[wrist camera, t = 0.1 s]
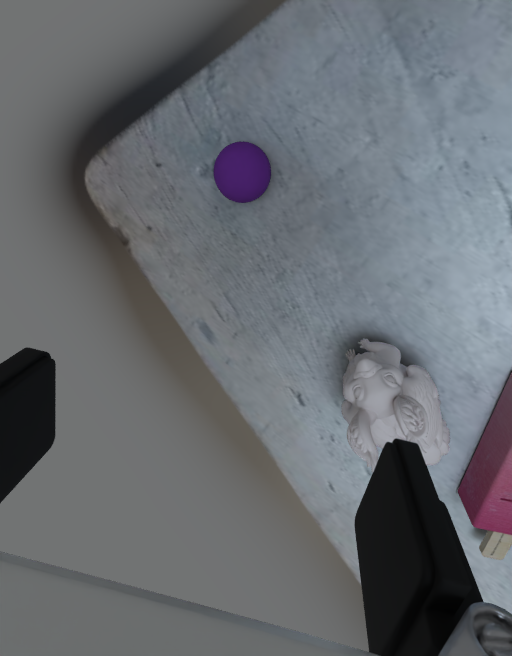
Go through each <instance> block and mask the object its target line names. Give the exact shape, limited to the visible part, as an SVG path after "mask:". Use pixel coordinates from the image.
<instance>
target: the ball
mask: <svg viewBox="0 0 512 656" xmlns="http://www.w3.org/2000/svg"><path fill="white" fill-rule="evenodd" d="M270 178H271V167H270V163H269V160H268V158H267V156H266V155H265V153H264V152H263V151H262V150H261V149H260V148H259V147H258V146H256V145H254V144H252V143H249V142H235V143H232V144H230V145H228V146H226V147H225V148H224V149H223V150H222V151H221V152H220V153H219V155H218V157H217V159H216V161H215V165H214V179H215V182H216V185H217V187H218V189H219V190H220V192H221V193H222V194H223V195H224V196H225V197H227V198H228V199H230V200H232V201H235V202H239V203H246V202H251V201H253V200H255V199H257V198H259V197H260V196H261V195H262V194H263V193H264V192H265V190H266V189H267V187H268V185H269V182H270Z"/></svg>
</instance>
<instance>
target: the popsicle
mask: <svg viewBox="0 0 512 656" xmlns="http://www.w3.org/2000/svg"><path fill="white" fill-rule="evenodd" d="M458 493H459V496H460V498H461V500H462V503H463V505H464V507H465V509H466V512H467V514H468V516H469V519H470V521H471V523H472V525H473V526H474V527H476V528H480V529H484V530H488V531H487V533H486V535H485V537H484V539H483V541H482V543H481V545H480V546H479V549H480V551H481V553H482V555H483V556H484V557H488V558H493V559H497V560H502V559H503V558H504V557H505V555H506V553H507V552H508V550H509V548H510V546H511V545H512V372H511V374H510V377H509V379H508V381H507V383H506V385H505V388H504V390H503V392H502V394H501V396H500V399H499V401H498V403H497V405H496V407H495V410H494V412H493V414H492V416H491V418H490V421H489V423H488V425H487V427H486V429H485V432H484V434H483V436H482V438H481V440H480V442H479V445H478V447H477V449H476V451H475V453H474V456H473V458H472V460H471V462H470V464H469V467H468V469H467V471H466V473H465V475H464V478H463V480H462V482H461V484H460V486H459V489H458Z"/></svg>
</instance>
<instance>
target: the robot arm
mask: <svg viewBox="0 0 512 656" xmlns="http://www.w3.org/2000/svg"><path fill="white" fill-rule="evenodd" d="M54 439H55V361H54V360H53V359H51V356H50V354H49V353H47V352H44V351H40V350H36V349H32V348H24V349H23V350H21V351H19V352H18V353H16V354H15V355H13V356H12V357H10V358H9V359H7V360H6V361H4V362H3V363H1V364H0V503H1V502H2V501H3V499H4V498H5V497H6V496H7V495H8V494H9V493H10V492H11V491H12V490H13V488H14V487H15V486H16V485H17V484H18V483H19V482H20V481H21V480H22V479H23V478H24V476H25V475H26V474H27V473H28V472H29V471H30V470H31V469H32V468H33V467H34V466H35V464H36V463H37V462H38V461H39V460H40V459H41V458H42V457H43V456H44V455H45V453H46V452H47V451H48V450H49V449H50V448H51V446H52V444H53V442H54ZM355 533H356V542H357V550H358V559H359V567H360V576H361V585H362V592H363V601H364V610H365V618H366V627H367V636H368V644H369V652H367V651H363V650H360V649H356V648H353V647H350V646H346V645H343V644H340V643H336V642H333V641H329V640H326V639H322V638H319V637H315V636H312V635H309V634H306V633H302V632H298V631H295V630H291V629H288V628H284V627H280V626H276V625H273V624H269V623H266V622H262V621H258V620H255V619H251V618H247V617H244V616H240V615H236V614H233V613H229V612H226V611H222V610H218V609H214V608H211V607H207V606H204V605H200V604H196V603H192V602H189V601H185V600H182V599H177V598H174V597H170V596H167V595H163V594H159V593H155V592H152V591H148V590H144V589H141V588H137V587H133V586H129V585H126V584H122V583H118V582H114V581H111V580H107V579H103V578H99V577H95V576H92V575H88V574H84V573H81V572H77V571H73V570H69V569H66V568H62V567H58V566H54V565H50V564H46V563H43V562H39V561H35V560H31V559H27V558H23V557H20V556H16V555H12V554H8V553H5V552H1V551H0V656H512V614H511V613H509V612H508V611H506V610H505V609H503V608H501V607H498V606H496V605H494V604H491V603H485V602H483V599H482V597H481V594H480V592H479V589H478V586H477V584H476V581H475V579H474V576H473V574H472V571H471V568H470V566H469V563H468V561H467V558H466V556H465V553H464V550H463V548H462V545H461V543H460V540H459V538H458V535H457V532H456V530H455V527H454V525H453V522H452V520H451V517H450V514H449V512H448V509H447V507H446V506H445V504H444V503H443V502H442V501H440V500H439V498H438V495H437V492H436V490H435V487H434V484H433V482H432V479H431V476H430V474H429V471H428V468H427V466H426V463H425V460H424V458H423V455H422V452H421V450H420V447H419V445H418V444H417V443H414V442H410V441H406V440H402V439H397V438H396V439H394V440H393V442H392V443H391V442H386V443H385V445H384V447H383V450H382V452H381V455H380V457H379V460H378V462H377V464H376V467H375V469H374V472H373V474H372V476H371V479H370V481H369V484H368V486H367V489H366V491H365V493H364V496H363V498H362V501H361V503H360V506H359V508H358V510H357V513H356V517H355Z"/></svg>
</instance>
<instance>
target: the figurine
mask: <svg viewBox="0 0 512 656" xmlns="http://www.w3.org/2000/svg"><path fill="white" fill-rule="evenodd" d="M360 341H361V342H358V344H360V345H361V346H360V348H363V349H366V350H367V351H369V352H365V353H362V354H360V352H359V353H358V354H357V355H355V351H354V349H353V350H352V351H353V353H352V351H351V350H350V349H349V351H350V353H349V351H347V353H348V354H347V353H345V354H346V356H347V358H348V359H349V361H350V362H349V364H348V367H347V369H346V372H345V374H344V375H343V395H344V397H345V399H346V400H344V401H343V402H342V406H341V409H342V415H343V417H344V419H345V420H346V421H347V422H348V424H349V427H348V430H347V439H348V442H349V444H350V446H351V448H352V449H353V451H354V452H355V453H356V454H357V455H358V456H360V458H363V461H367V467H370V466H371V467H372V472H374V469H375V467H376V464H377V462H378V451H377V448H376V445H377V446H378V447H380V448H382V449H383V447H384V445H385V443H386V442H391V443H392V442H393V440H394V439H396V438H397V439H402V440H406V441H410V442H414V443H417V444H418V445H419V447H420V450H421V452H422V455H423V458H424V460H425V463H426V465H436V464H437V463H439V461H440V460H441V456H443V455H446V454H447V453H448V452H449V450H450V447H449V445H448V444H449V442H450V437H449V436H450V431H449V429H448V427H446V426H447V424H446V422H445V421H444V420H443V419H442V415H441V410H440V404H441V401H440V400H439V395H438V391H437V388H436V385H435V383H434V382H433V380H432V379H431V377H430V374H429V373H428V372H427V371H426V369H424V368H422V367H420V366H418V365H409V366H408V367H406V366H404V365H402V364H400V360H401V354H400V351H399V350H398V349H397V348H396V347H395V346H393V345H391V344H387V343H383V342H369V340H368V339H367V338H366V340H365V339H364V338H363V340H360ZM348 355H349V356H348Z"/></svg>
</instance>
